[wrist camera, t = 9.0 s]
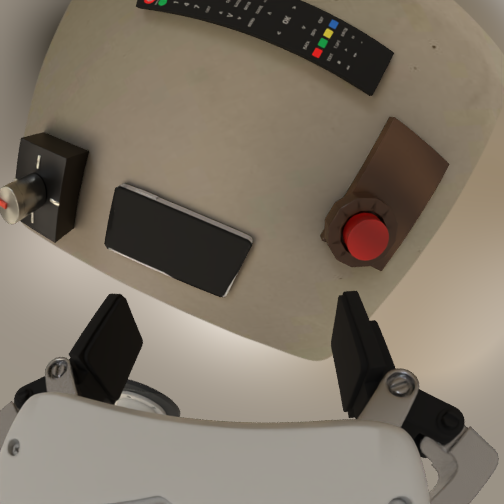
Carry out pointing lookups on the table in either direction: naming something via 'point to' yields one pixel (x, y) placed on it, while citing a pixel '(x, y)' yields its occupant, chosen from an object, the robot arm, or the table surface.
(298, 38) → the remote control
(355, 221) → the light button
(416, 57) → the table surface
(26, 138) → the dimmer panel
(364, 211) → the switch block
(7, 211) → the dimmer knob
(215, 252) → the smartphone
